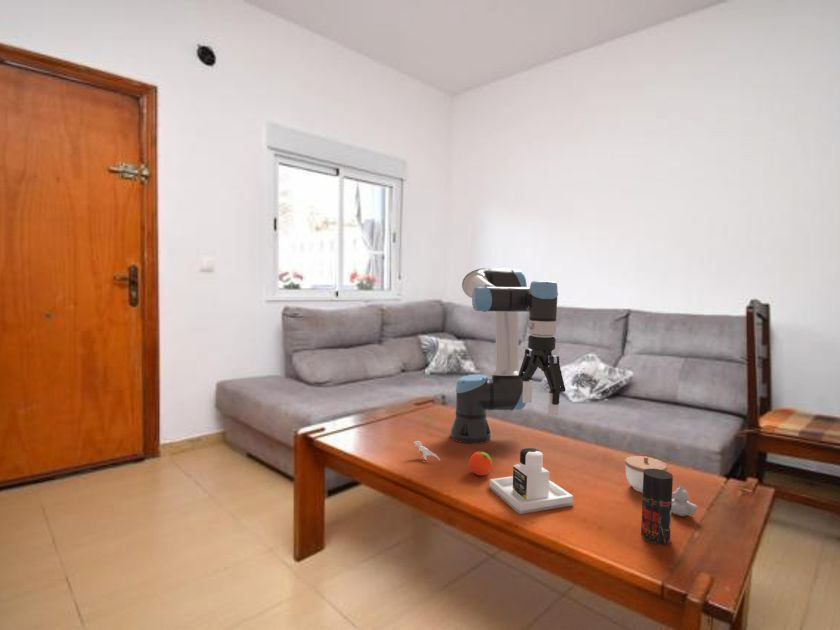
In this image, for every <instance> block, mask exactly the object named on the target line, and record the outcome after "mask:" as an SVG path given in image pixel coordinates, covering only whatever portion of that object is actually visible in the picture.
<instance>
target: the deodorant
mask: <svg viewBox="0 0 840 630" xmlns="http://www.w3.org/2000/svg"><path fill="white" fill-rule="evenodd" d="M673 481H674V475H673V474H672V473H670V472H669V471H668V470H667V471H664V470H660V469H645V470H644V472H643V493H642V497H641V498H642V500H641V502H642V503H641V522H640V524H641V525H640V535H641V538H642V539H643V540H644V541H646V542H648V543H651V544H654V545H659V546H663V545H669V543H670V542H671V529H672V528H671V526H672V523H671V522H672V512H671V507H672V499H673V486H674V485H673V484H674V483H673Z"/></svg>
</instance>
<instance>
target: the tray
mask: <svg viewBox="0 0 840 630" xmlns="http://www.w3.org/2000/svg"><path fill="white" fill-rule="evenodd" d="M489 489H490V490H492V492H494V494H496V495H497V496H498V497H499V496H500V497H499V498H500V499H501V500H503V501H504V502H505V503H506V504H507V505H508V506H510V507H511V509H513V510H514V511H515V512H516V513H517V514H519V515H524V514H530V513H535V512H541V511H546V510H553V509H558V508H566V507H570V506H571V507H572V506H574V495H572V494H571V493H569V491H567V490H565V489H564V488H562V487H561V486H559V485H558V484H556V482H553V481H551V480H550V479H549V497H546V498H539V499H533V500H525V499H524V498H522V497H521V496H520V495H519V494H518V493H516V492H515V491H514V490H513V475H511V476H505V477H504V476H503V477H496V478H489Z"/></svg>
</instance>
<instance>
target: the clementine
mask: <svg viewBox="0 0 840 630" xmlns="http://www.w3.org/2000/svg"><path fill="white" fill-rule="evenodd" d="M492 465H493V460H492V458H491V456H490V455H489V454H488V453H487V452H485V451H480V450H479V451H475V452H474V453H472V455H471V456H470V458H469V460H468V466H469V468H470V470H471V472H473V474H475V475H477V476H485V475H487V474H489V472H490V471H491V469H492V467H493V466H492Z"/></svg>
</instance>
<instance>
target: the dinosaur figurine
mask: <svg viewBox="0 0 840 630" xmlns="http://www.w3.org/2000/svg"><path fill="white" fill-rule="evenodd" d="M413 444H415V445H414V446H415V447H418V452H417V453H419V452H422V457H424V458H423V459H424V460H427V457H428V456H433V457H435V458H436V459H438V460H439V461H441V458H440V457H439V456H438V455H437V454H436V453H435V452H432V451H431V450H429V449H428V448H427V447H425V446H423V444H422V442H421V441H419V440H416V441H413Z"/></svg>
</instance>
